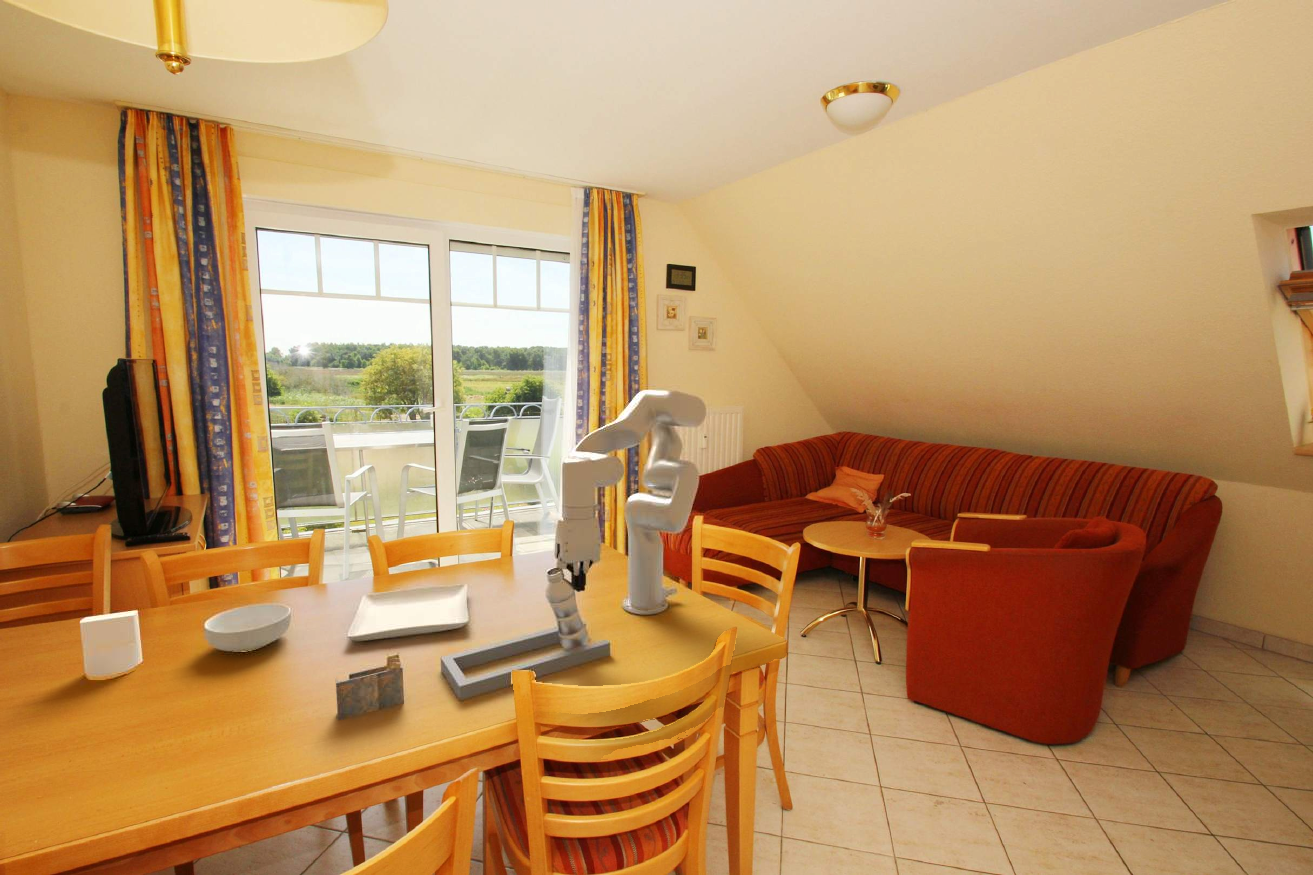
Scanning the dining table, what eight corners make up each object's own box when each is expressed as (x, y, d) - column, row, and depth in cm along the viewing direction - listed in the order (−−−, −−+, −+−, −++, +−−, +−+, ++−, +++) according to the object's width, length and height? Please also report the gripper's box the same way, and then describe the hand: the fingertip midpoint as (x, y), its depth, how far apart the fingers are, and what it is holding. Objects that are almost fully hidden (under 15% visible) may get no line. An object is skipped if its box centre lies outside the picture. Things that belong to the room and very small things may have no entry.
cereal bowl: (302, 645, 139) (300, 616, 138) (215, 671, 126) (212, 639, 126) (280, 623, 150) (278, 596, 149) (199, 645, 138) (196, 616, 137)
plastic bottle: (585, 654, 134) (563, 577, 129) (558, 655, 136) (535, 580, 130) (593, 636, 140) (572, 562, 135) (567, 638, 142) (545, 564, 136)
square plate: (467, 594, 171) (467, 581, 170) (469, 635, 145) (468, 620, 145) (364, 605, 162) (363, 591, 162) (346, 651, 137) (345, 635, 136)
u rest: (582, 632, 147) (582, 620, 146) (610, 655, 135) (610, 642, 135) (441, 670, 128) (440, 657, 127) (459, 700, 116) (459, 686, 116)
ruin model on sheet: (401, 697, 118) (399, 651, 117) (404, 704, 116) (402, 657, 114) (337, 713, 112) (334, 665, 111) (338, 722, 110) (335, 672, 109)
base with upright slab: (78, 685, 120) (72, 628, 119) (94, 665, 128) (89, 612, 127) (135, 674, 125) (130, 620, 123) (148, 656, 132) (143, 604, 131)
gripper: (599, 505, 142) (599, 578, 144) (541, 512, 134) (541, 590, 136) (615, 511, 136) (614, 588, 138) (555, 519, 127) (555, 601, 129)
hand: (578, 589), depth 137 cm, fingers closed
